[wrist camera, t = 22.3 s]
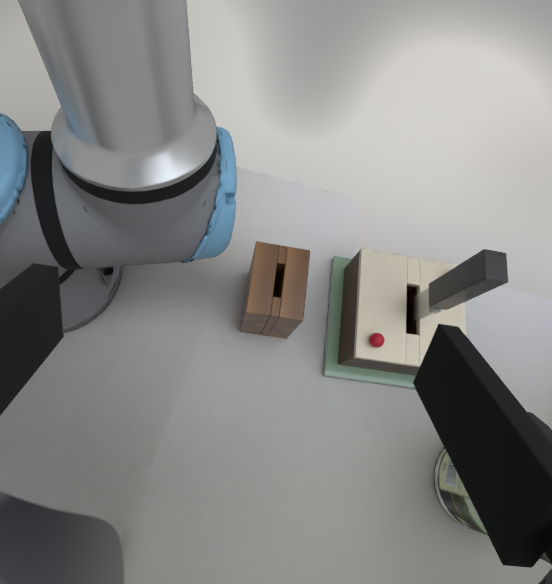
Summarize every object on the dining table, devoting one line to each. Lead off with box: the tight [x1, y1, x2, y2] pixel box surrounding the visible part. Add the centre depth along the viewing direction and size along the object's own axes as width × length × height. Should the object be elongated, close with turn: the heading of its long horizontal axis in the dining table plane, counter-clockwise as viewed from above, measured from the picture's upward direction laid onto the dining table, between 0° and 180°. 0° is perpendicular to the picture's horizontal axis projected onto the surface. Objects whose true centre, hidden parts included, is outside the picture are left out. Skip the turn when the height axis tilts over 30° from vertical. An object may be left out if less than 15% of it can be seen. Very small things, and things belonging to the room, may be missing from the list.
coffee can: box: [434, 448, 551, 564], centre depth 42 cm, size 10×10×14 cm
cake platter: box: [323, 256, 416, 389], centre depth 53 cm, size 16×16×1 cm
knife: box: [406, 250, 508, 326], centre depth 42 cm, size 2×3×21 cm, turn 173°
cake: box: [338, 248, 466, 376], centre depth 48 cm, size 13×13×8 cm
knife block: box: [240, 242, 310, 338], centre depth 47 cm, size 6×8×10 cm
